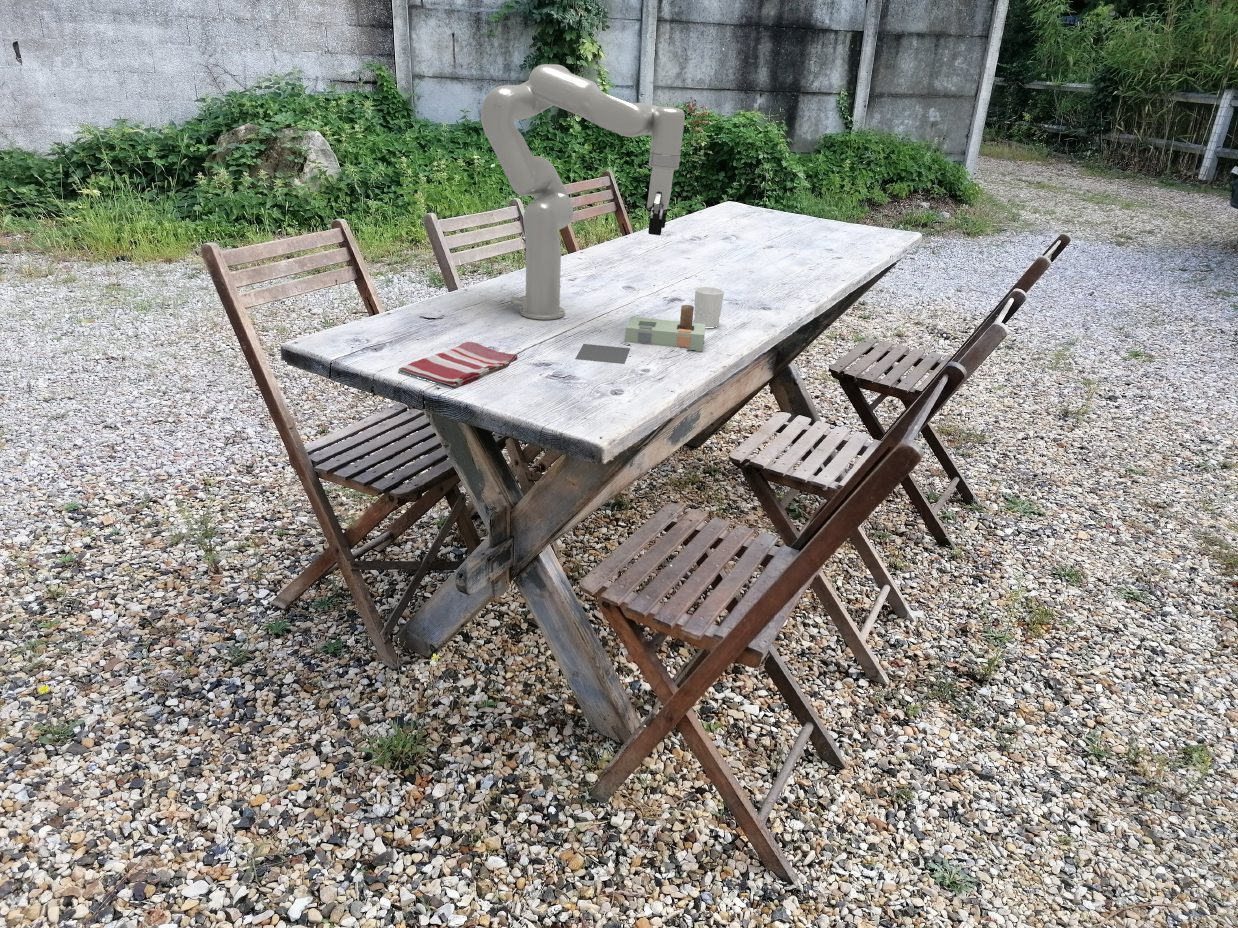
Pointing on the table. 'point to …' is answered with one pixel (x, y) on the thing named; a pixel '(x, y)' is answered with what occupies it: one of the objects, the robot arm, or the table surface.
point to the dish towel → (459, 365)
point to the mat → (603, 353)
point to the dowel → (686, 317)
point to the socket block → (665, 333)
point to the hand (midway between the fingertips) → (656, 231)
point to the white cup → (708, 305)
